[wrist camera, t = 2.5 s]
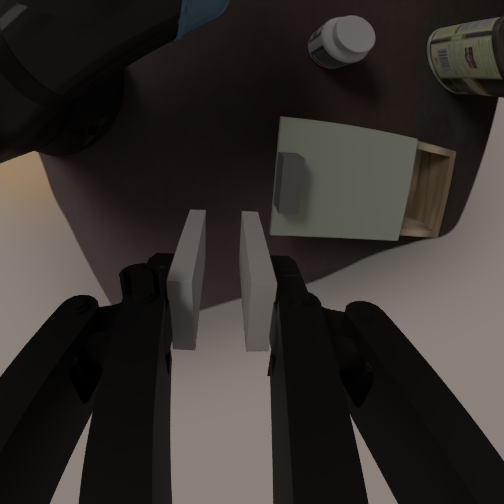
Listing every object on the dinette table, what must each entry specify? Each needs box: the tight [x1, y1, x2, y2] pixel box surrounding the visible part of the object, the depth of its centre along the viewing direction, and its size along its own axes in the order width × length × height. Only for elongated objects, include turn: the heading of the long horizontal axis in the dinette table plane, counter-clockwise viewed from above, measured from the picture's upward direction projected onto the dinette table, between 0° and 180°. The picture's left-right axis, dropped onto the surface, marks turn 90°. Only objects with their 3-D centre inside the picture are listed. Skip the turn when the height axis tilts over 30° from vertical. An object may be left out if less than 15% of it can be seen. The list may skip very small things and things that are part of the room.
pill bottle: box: [308, 15, 375, 69], centre depth 26 cm, size 5×5×9 cm
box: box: [399, 141, 456, 238], centre depth 34 cm, size 14×11×7 cm
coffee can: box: [427, 16, 504, 97], centre depth 24 cm, size 10×10×14 cm
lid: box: [270, 117, 418, 241], centre depth 28 cm, size 15×12×4 cm
